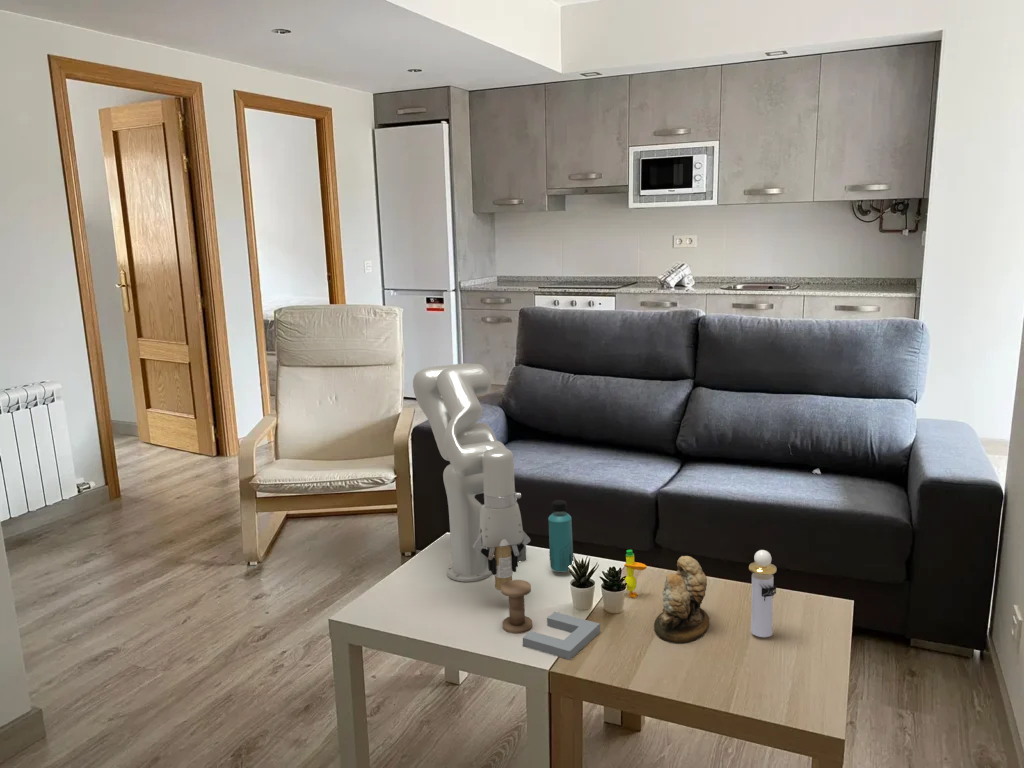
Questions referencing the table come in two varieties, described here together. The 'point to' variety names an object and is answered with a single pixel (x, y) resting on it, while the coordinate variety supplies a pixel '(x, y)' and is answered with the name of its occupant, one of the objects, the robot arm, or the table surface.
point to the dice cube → (522, 554)
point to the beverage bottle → (560, 537)
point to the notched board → (563, 647)
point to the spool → (516, 606)
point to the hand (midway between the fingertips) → (503, 570)
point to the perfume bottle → (762, 594)
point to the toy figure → (632, 572)
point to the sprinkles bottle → (503, 564)
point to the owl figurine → (683, 604)
